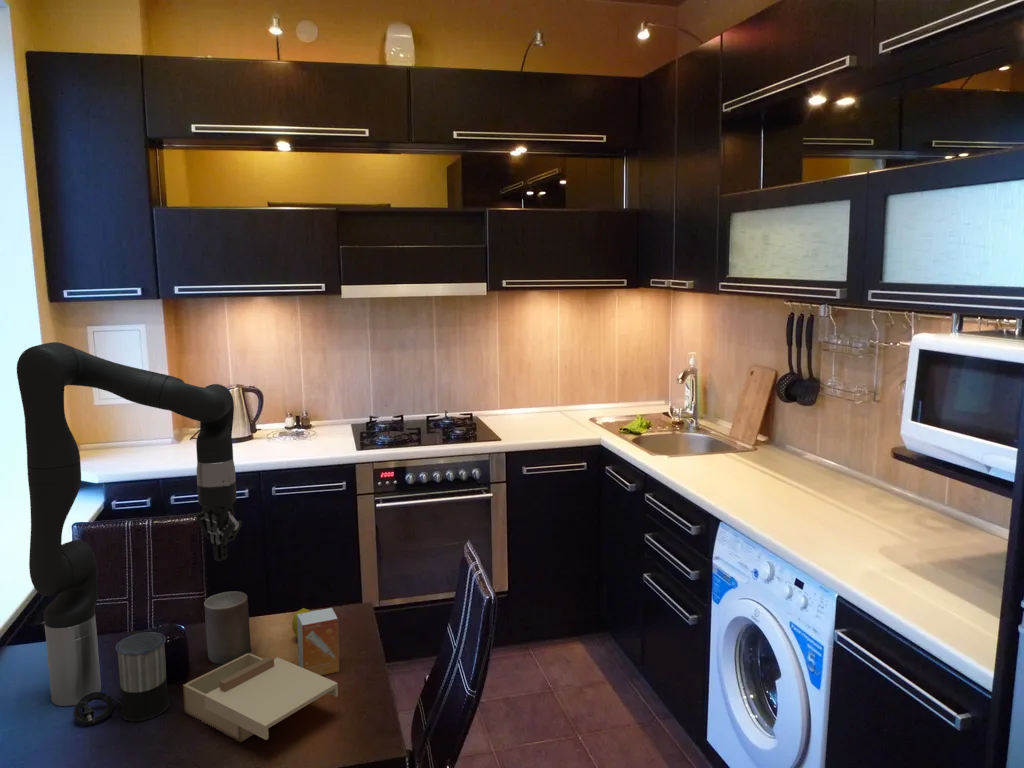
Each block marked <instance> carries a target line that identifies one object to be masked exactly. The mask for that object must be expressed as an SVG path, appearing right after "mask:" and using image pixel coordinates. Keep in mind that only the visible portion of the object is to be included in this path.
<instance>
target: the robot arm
mask: <svg viewBox="0 0 1024 768" xmlns="http://www.w3.org/2000/svg"><path fill="white" fill-rule="evenodd" d="M16 377H17V378H16V379H17V382H18V383H17V384H18V388H19V392H20V398H21V403H22V409H23V417H24V430H25V444H26V445H25V446H26V447H25V448H26V466H27V468H26V469H27V479H28V480H27V482H28V490H29V491H28V492H29V505H30V506H29V508H30V536H29V537H30V541H29V559H28V560H29V561H28V565H29V567H28V568H29V578H30V580H31V583H32V586H33V588H34V589H35V591H36V592H37V593H38V594H40V595H42V596H44V597H52V596H56V595H58V596H56V597H55V599H54V600H53V601H52V602H50V604H49V605H48V606H46V608H45V610H44V612H43V622H44V623H43V624H44V631H45V632H44V634H45V644H46V653H47V654H46V655H47V665H48V673H49V674H48V675H49V686H50V696H51V703H52V704H53V705H56V706H60V707H68V706H76V705H77V703H78V702H79V701H80V700H81V699H82V698H83V697H84V696H86V695H87V694H90V693H93V692H101V690H102V681H101V669H100V660H99V659H100V658H99V644H98V634H97V633H98V631H97V622H96V612H95V611H96V609H95V608H96V605H97V602H98V567H97V566H98V565H97V560H96V556H95V553H94V551H93V549H92V547H91V546H90V545H89V544H88V543H87V542H86V541H83V540H81V539H80V540H78V539H77V540H76V539H75V540H71V541H68V542H65V543H62V541H63V538H62V537H63V529H64V525H65V522H66V519H67V518H68V515H69V513H70V510H71V509H72V507H73V505H74V503H75V501H76V498H77V496H78V494H79V491H80V489H81V485H82V469H81V468H82V467H81V454H80V450H79V446H78V443H77V441H76V438H75V437H74V434H73V433H72V431H71V429H70V427H69V425H68V421H67V419H66V414H65V413H66V412H65V387H67V386H78V387H88V388H94V389H98V390H101V391H102V390H103V391H105V392H108V393H111V394H114V395H116V396H118V397H120V398H122V399H125V400H127V401H129V402H132V403H134V404H138V405H142V406H147V407H150V408H154V409H160V410H163V411H168V412H169V411H170V412H172V413H175V414H177V415H179V416H182V417H183V418H187V419H190V420H193V421H196V422H200V423H199V425H200V427H199V432H198V435H197V437H196V443H195V445H196V449H195V450H196V464H197V465H196V485H197V501H198V504H199V505H200V506H201V507H202V511H201V512H198V513H196V514H195V518H196V521H197V522H198V524H199V526H200V528H201V530H202V532H203V535H204V538H206V539H207V540H208V539H209V540H210V543H211V544H212V548H213V549H212V550H213V558H214V560H215V561H217V562H222V561H224V560H228V543H230V542H232V541H233V542H234V541H235V539H236V537H237V535H238V533H239V531H240V530H241V527H242V526H243V522H242V520H237V519H236V518H235V517H234V516H235V511H234V507H233V505H234V503H235V502H236V500H237V483H236V481H237V480H236V466H235V462H234V449H233V447H234V446H233V438H232V437H233V427H234V426H233V424H234V413H235V412H234V411H235V404H234V403H235V402H234V398H233V397H234V396H233V394H232V392H231V391H230V390H229V388H228V387H227V386H225V385H223V384H219V383H213V384H209V385H207V386H205V387H202V386H198V385H194V384H189V383H186V382H185V381H184V379H181V378H179V377H176V376H173V375H169V374H163V373H160V372H156V371H151V370H146V369H142V368H138V367H134V366H129V365H125V364H120V363H117V362H114V361H110V360H108V359H104V358H102V357H99V356H96V355H93V354H91V353H89V352H86V351H83V350H82V349H79V348H76V347H74V346H71V345H68V344H65V343H62V342H58V341H57V342H55V341H53V342H47V343H42V344H38V345H35V346H34V345H33V346H31V347H28V348H26V349H25V350H24V351H23V352H21V354H20V356H19V357H18V360H17V362H16Z"/></svg>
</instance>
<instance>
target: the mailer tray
mask: <svg viewBox="0 0 1024 768" xmlns="http://www.w3.org/2000/svg"><path fill="white" fill-rule="evenodd" d="M262 659H263V658H262V657H260V656H257V655H255V654H253V653H252V652H251V653H247V654H245V655H243V656H241V657H239V658H237V659H235V660H233V661H231V662H229V663H227V664H222V665H221V666H219V667H217V668H214V669H213V670H210V671H208V672H207V673H205V674H202V675H200V676H199V677H197V678H193V679H192V680H190V681H188V682H186V683H184V684H182V691H183V706H184V707H183V709H184V713H185V714H188V715H189V716H190V717H192V718H194V717H195V718H194V719H196V718H197V719H196V720H198V719H199V720H198V721H200V720H201V721H200V722H202V723H203V724H205V725H207V724H208V726H209V725H210V726H209V727H211V726H212V728H213V727H214V728H213V729H215V728H216V729H215V730H217V731H218V730H219V732H220V731H221V733H222V732H223V733H222V734H225V735H226V736H228V737H229V738H231V739H233V740H235V741H237V742H239V743H242V742H243V741H245V740H246V739H249V738H250V737H251V736H253V735H254V734H253V733H251V732H250V731H248V730H246V729H244V728H242V727H240V726H238V725H236V724H234V723H232V722H230V721H229V720H227V719H225V718H223V717H221V716H219V715H217V714H215V713H213V712H211V711H209V710H208V709H206V708H205V699H204V695H205V694H207V693H209V692H211V691H213V690H215V689H217V688H219V687H220V682H219V681H221V680H223V679H225V678H227V677H229V676H231V675H233V674H235V673H237V672H239V671H241V670H243V669H245V668H247V667H249V666H251V665H253V664H254V663H256V662H258V661H260V660H262Z"/></svg>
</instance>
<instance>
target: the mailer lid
mask: <svg viewBox="0 0 1024 768" xmlns="http://www.w3.org/2000/svg"><path fill="white" fill-rule="evenodd" d="M219 682H220V687H219V688H217V689H215V690H213V691H211V692H209V693H207V694H205V695H204V699H205V708H206V709H208V710H209V711H211V712H213V713H215V714H217V715H219V716H221V717H223V718H225V719H227V720H229V721H230V722H232V723H234V724H236V725H238V726H240V727H242V728H244V729H246V730H248V731H250V732H251V733H253V735H255V736H257V737H259V738H261V739H263V740H265V741H267V740H268V739H269V729H270V728H271V727H273V726H274V725H276V724H278V723H279V722H282V721H283V720H284V719H287V718H288V717H290V716H292V714H295V713H296V712H298V711H299V710H301V709H302V708H305V707H306V706H308V705H310V704H311V703H313V702H314V701H316V700H318V699H320V698H321V697H323V696H324V695H326V694H328V695H330V696H332V697H335V698H336V697H338V696H339V689H338V688H339V687H338V686H339V685H338V682H336V681H334V680H332V679H330V678H327V677H324V675H321V676H320V675H318V674H316V673H313V672H311V671H309V670H306V669H304V668H302V667H299V665H297V664H295V663H292V662H290V661H287V660H285V659H283V658H280V657H275V658H274V657H272V656H270V655H269V656H266V657H264V658H262V660H260V661H258V662H256V663H254V664H253V665H251V666H249V667H247V668H245V669H243V670H241V671H239V672H237V673H235V674H233V675H231V676H229V677H227V678H225V679H223V680H221V681H219Z"/></svg>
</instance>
